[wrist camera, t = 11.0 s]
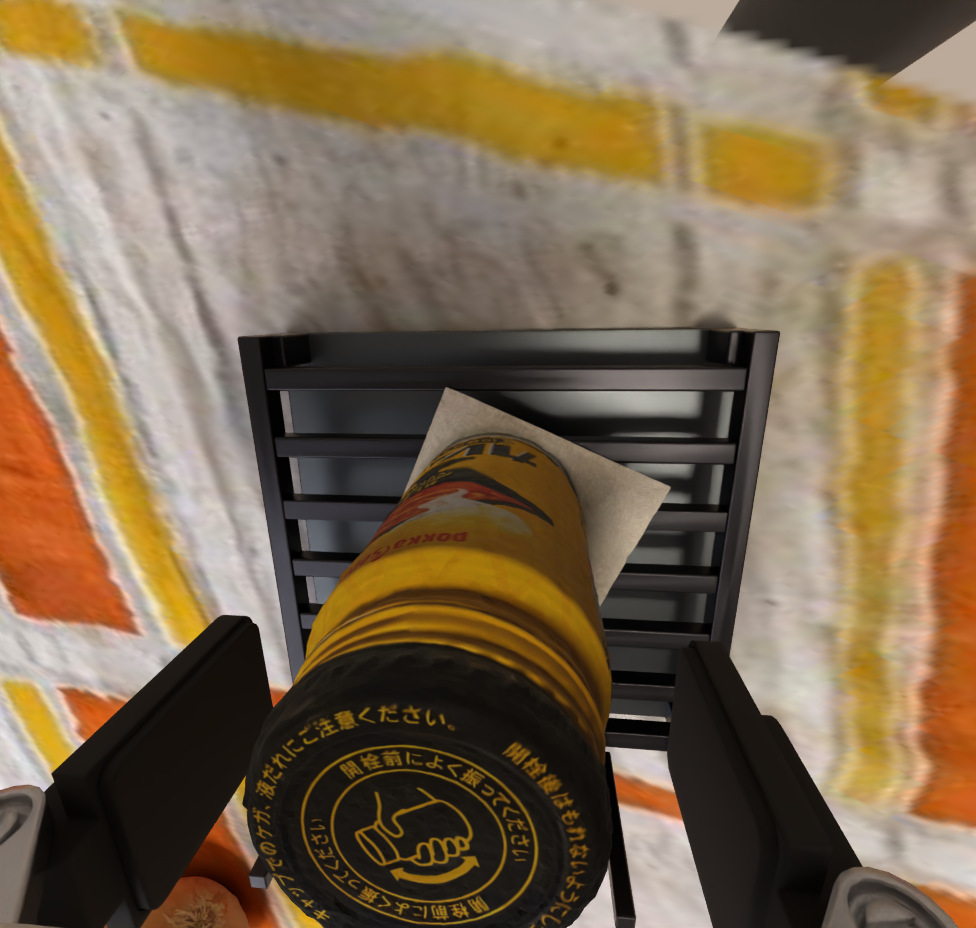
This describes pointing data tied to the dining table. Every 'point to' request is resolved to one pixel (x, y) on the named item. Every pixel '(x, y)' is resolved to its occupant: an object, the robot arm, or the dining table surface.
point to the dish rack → (554, 408)
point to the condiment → (458, 693)
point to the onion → (198, 907)
